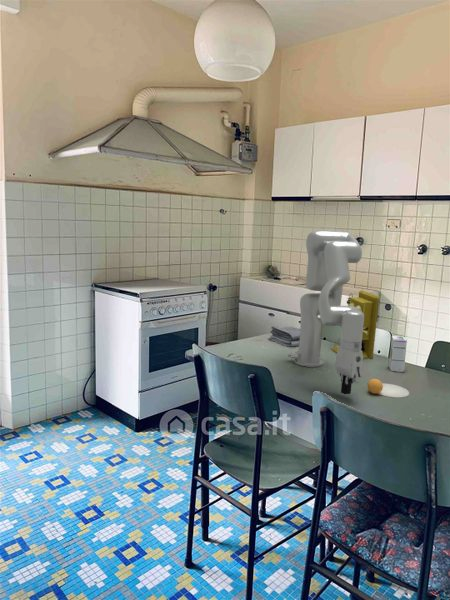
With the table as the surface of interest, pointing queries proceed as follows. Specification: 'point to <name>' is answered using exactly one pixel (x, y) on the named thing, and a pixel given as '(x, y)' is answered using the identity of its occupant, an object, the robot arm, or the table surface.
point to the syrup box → (397, 353)
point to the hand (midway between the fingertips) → (345, 393)
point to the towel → (285, 336)
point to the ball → (375, 386)
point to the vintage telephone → (366, 320)
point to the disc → (393, 391)
